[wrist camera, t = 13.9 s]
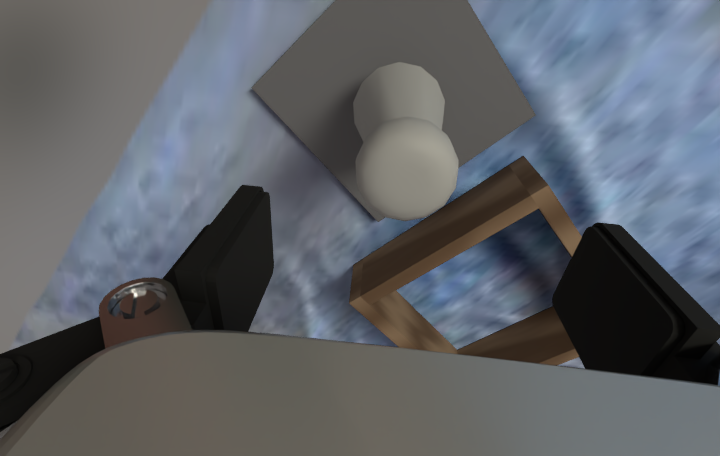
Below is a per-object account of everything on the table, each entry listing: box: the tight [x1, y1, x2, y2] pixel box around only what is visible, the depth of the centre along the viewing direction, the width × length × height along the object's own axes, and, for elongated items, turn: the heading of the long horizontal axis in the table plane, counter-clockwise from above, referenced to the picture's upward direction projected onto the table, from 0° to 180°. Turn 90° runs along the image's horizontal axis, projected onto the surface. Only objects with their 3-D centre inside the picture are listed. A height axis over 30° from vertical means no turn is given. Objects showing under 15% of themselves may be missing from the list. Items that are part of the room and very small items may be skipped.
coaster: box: [252, 0, 535, 222], centre depth 26 cm, size 14×14×1 cm
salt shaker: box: [353, 62, 459, 221], centre depth 20 cm, size 6×6×13 cm
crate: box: [349, 156, 582, 365], centre depth 32 cm, size 17×17×5 cm
